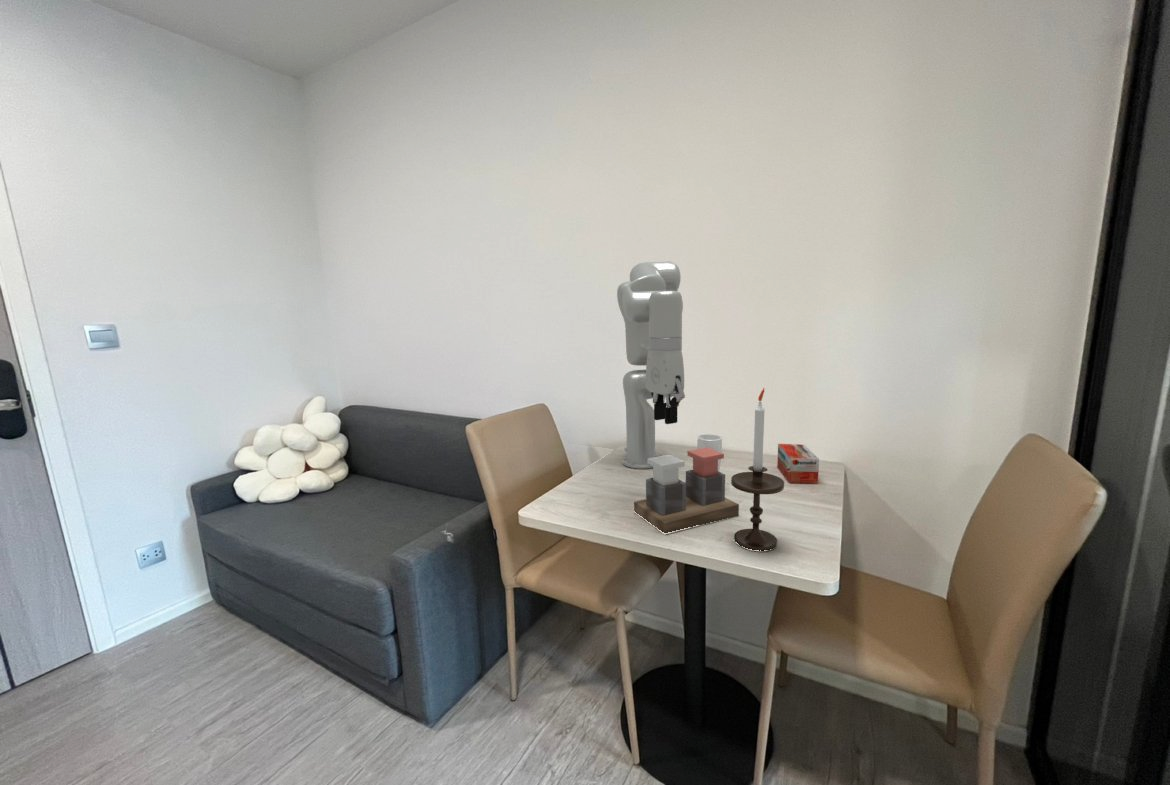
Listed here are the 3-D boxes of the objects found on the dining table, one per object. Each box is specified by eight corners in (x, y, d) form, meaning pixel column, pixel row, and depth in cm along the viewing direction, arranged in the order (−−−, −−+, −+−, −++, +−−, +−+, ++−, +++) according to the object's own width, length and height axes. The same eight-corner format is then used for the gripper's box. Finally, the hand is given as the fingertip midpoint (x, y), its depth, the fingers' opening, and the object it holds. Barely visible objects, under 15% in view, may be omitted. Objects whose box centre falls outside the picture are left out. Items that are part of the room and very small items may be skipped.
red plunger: (687, 481, 126) (687, 451, 124) (707, 477, 129) (707, 447, 127) (702, 489, 120) (703, 457, 119) (723, 484, 123) (723, 453, 121)
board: (634, 512, 125) (633, 475, 123) (703, 496, 134) (703, 461, 132) (664, 535, 112) (664, 494, 111) (738, 515, 121) (739, 477, 120)
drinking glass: (718, 492, 136) (719, 441, 134) (694, 489, 139) (695, 439, 137) (722, 484, 142) (723, 434, 140) (699, 481, 145) (700, 432, 143)
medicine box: (818, 484, 140) (820, 458, 139) (789, 484, 141) (790, 458, 140) (802, 467, 155) (803, 443, 153) (775, 467, 156) (776, 443, 155)
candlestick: (788, 539, 109) (796, 385, 102) (770, 559, 101) (776, 393, 94) (742, 526, 116) (746, 381, 109) (721, 543, 108) (724, 388, 102)
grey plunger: (647, 489, 121) (647, 458, 120) (669, 485, 124) (669, 454, 122) (662, 498, 115) (661, 465, 114) (684, 493, 118) (684, 461, 116)
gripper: (633, 343, 119) (634, 416, 122) (672, 348, 104) (672, 431, 107) (659, 341, 122) (659, 413, 125) (701, 346, 107) (700, 426, 110)
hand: (665, 420), depth 116 cm, fingers open, 3 cm apart
